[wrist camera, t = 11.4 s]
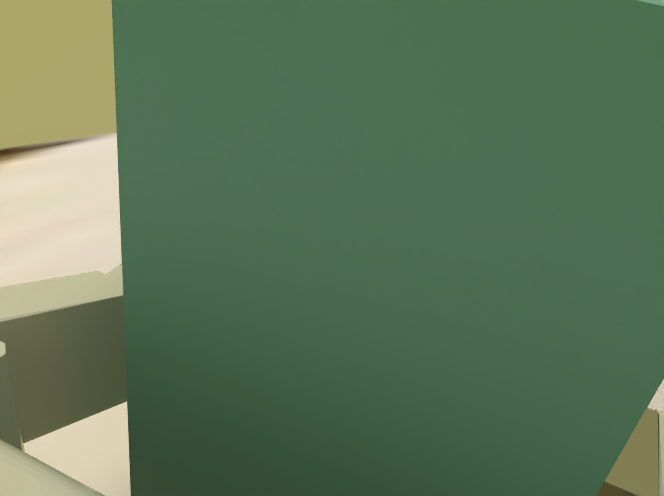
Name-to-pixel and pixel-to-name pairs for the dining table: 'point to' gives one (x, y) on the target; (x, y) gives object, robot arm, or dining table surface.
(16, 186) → the dining table surface
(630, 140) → the teal pillar
